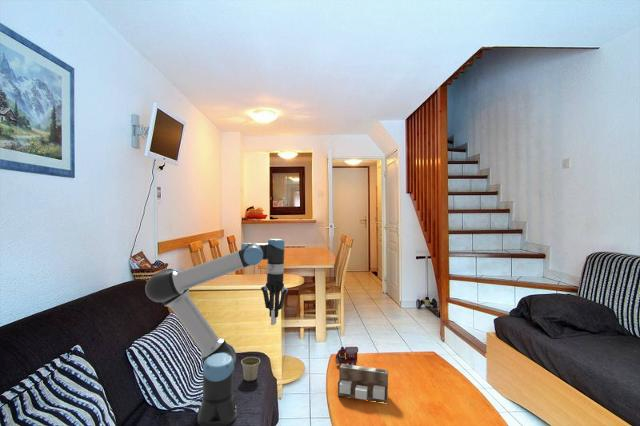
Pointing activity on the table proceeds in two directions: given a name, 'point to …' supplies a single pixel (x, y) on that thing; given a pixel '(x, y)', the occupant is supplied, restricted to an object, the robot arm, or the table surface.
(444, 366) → the table surface
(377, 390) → the right button
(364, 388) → the middle button
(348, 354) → the red wheeled toy
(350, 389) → the left button
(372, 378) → the console
